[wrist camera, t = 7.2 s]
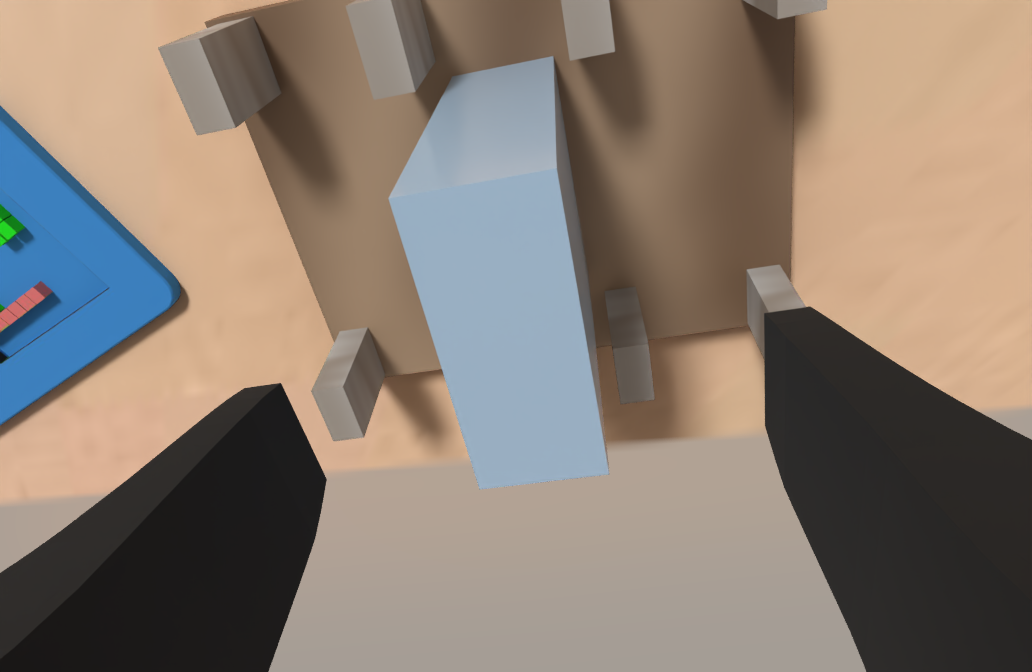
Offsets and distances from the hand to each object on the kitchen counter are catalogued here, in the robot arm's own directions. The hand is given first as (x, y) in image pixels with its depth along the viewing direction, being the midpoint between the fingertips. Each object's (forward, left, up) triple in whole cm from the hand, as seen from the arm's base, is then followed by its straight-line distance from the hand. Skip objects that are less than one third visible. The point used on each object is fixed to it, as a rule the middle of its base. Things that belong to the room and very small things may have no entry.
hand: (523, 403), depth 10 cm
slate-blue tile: (0, 0, -9) cm, 9 cm away
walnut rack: (0, 0, -10) cm, 10 cm away
